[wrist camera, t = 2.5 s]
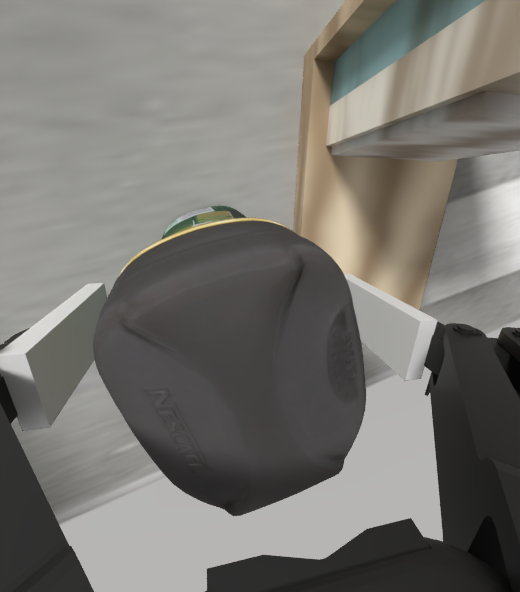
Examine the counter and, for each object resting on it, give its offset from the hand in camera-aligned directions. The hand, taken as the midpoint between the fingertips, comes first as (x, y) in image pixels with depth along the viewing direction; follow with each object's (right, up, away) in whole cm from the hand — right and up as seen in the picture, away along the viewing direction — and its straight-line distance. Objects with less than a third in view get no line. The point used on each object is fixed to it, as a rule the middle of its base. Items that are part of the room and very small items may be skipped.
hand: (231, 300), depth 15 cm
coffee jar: (-2, +3, +9) cm, 10 cm away
